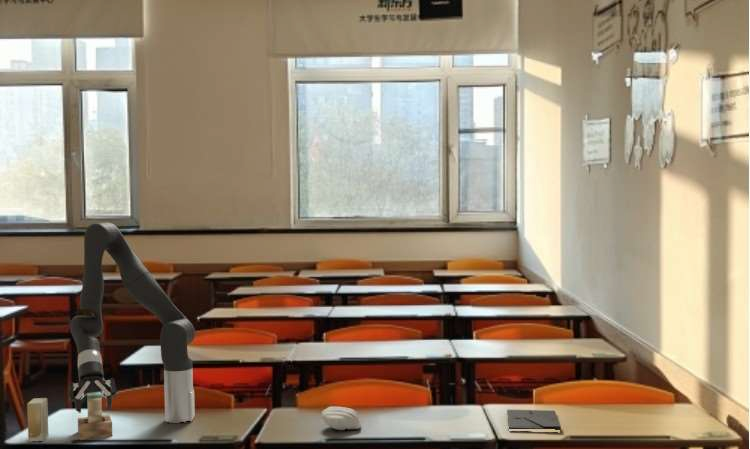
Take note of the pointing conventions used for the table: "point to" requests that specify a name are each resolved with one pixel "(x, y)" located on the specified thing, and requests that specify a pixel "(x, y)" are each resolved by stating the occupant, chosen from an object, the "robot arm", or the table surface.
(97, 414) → the peg
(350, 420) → the shell shaped sculpture
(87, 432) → the socket block
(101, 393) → the robot arm
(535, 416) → the picture frame
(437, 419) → the table surface
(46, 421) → the skincare box
